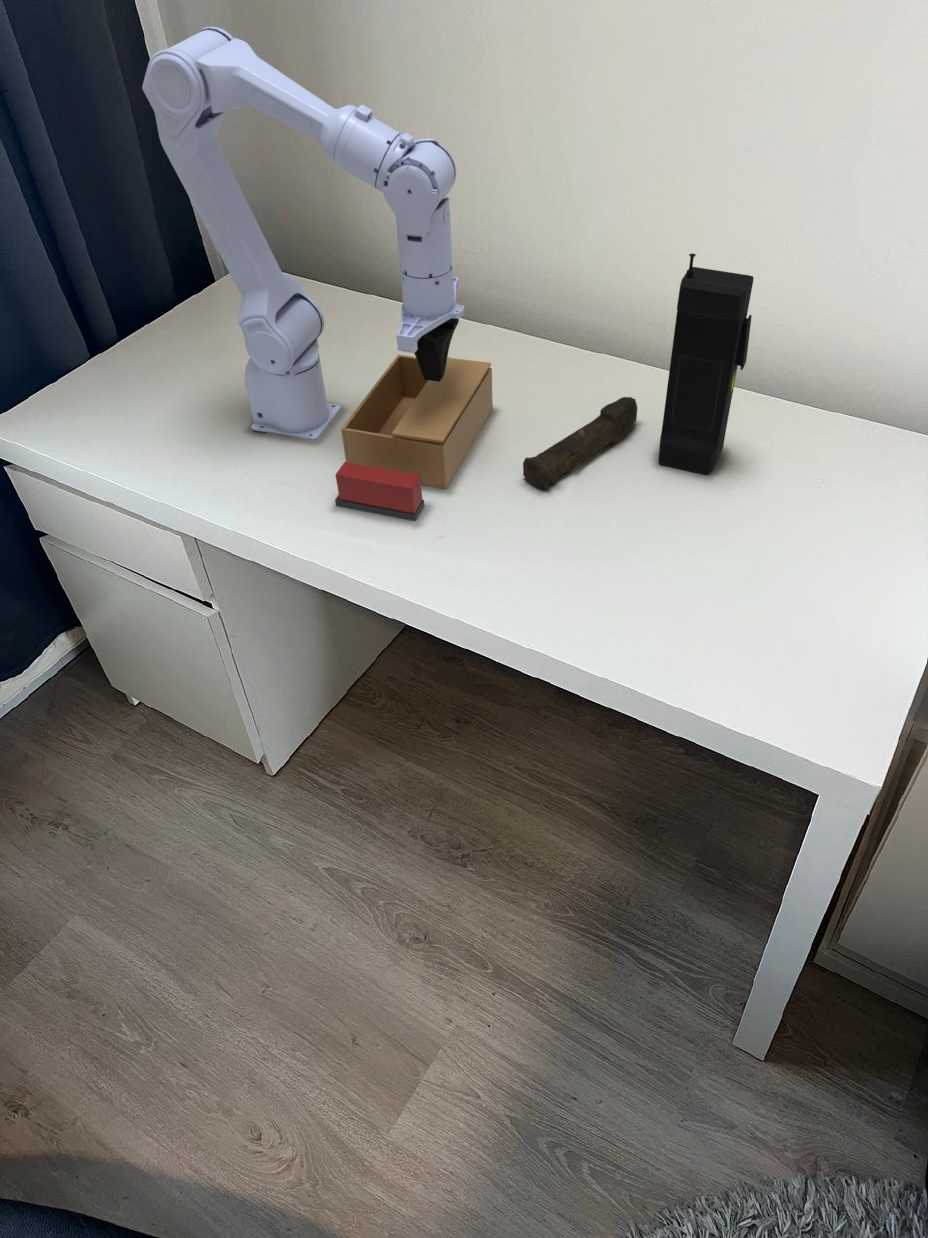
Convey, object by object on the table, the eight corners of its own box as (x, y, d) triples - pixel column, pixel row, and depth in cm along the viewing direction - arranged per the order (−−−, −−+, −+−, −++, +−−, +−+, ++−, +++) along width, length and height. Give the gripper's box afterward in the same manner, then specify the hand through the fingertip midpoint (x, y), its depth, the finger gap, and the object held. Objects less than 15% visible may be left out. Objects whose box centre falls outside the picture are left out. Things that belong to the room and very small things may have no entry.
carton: (402, 397, 126) (398, 354, 122) (492, 411, 123) (491, 367, 118) (347, 473, 115) (340, 429, 110) (446, 491, 111) (443, 446, 107)
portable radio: (731, 450, 115) (770, 249, 97) (719, 478, 111) (757, 273, 93) (668, 437, 117) (695, 238, 100) (654, 463, 114) (680, 261, 96)
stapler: (336, 508, 110) (330, 474, 107) (346, 492, 112) (341, 459, 109) (415, 523, 107) (412, 489, 104) (424, 507, 109) (422, 474, 106)
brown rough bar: (544, 496, 110) (545, 464, 107) (520, 481, 112) (521, 449, 109) (651, 432, 118) (655, 400, 115) (627, 419, 121) (631, 388, 117)
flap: (444, 359, 120) (444, 356, 120) (491, 365, 118) (491, 362, 118) (391, 435, 108) (391, 433, 108) (442, 443, 107) (442, 440, 106)
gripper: (437, 301, 96) (444, 415, 106) (482, 242, 106) (485, 352, 115) (374, 293, 98) (386, 406, 108) (424, 236, 108) (431, 344, 117)
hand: (433, 377), depth 112 cm, fingers closed
